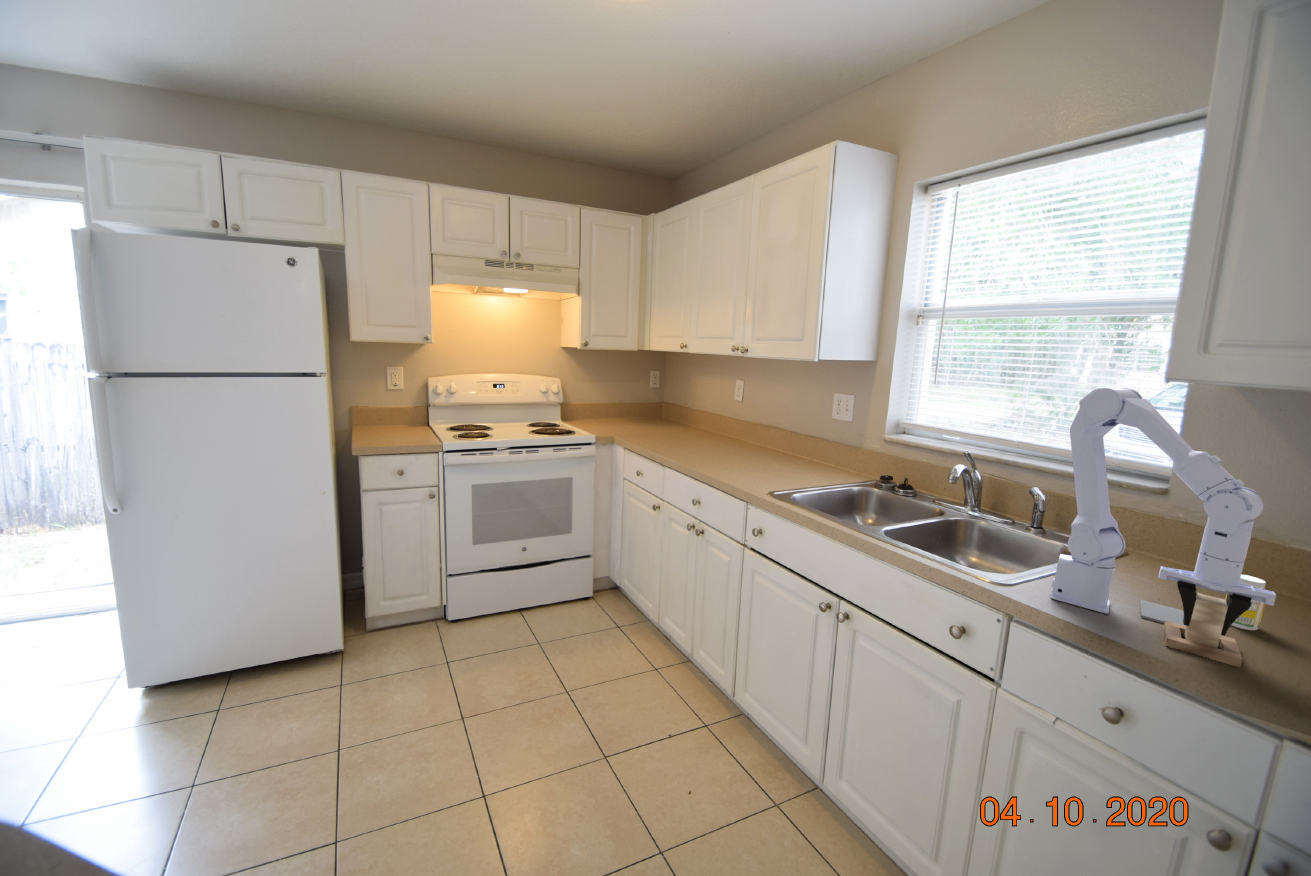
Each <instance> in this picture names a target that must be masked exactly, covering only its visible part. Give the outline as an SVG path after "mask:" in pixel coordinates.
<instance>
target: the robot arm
mask: <svg viewBox="0 0 1311 876" xmlns="http://www.w3.org/2000/svg"><path fill="white" fill-rule="evenodd" d="M1078 403H1079V409H1078V411H1077V413H1076V415H1075V417H1074V418H1073V421H1072V423H1071V425H1070V428H1069V435H1070V447H1071V458H1072V467H1073V478H1074V479H1073V480H1074V488H1075V489H1074V491H1075V498H1076V508H1077V509H1076V510H1077V515H1076V516H1075V518H1074V520H1073V521H1072V522H1071V524H1070V525H1071V526H1070V529H1071V530H1070V531H1071V532H1070V536H1069V537H1068V541H1067V548H1068V551H1069V553H1070V554H1064V553H1061V554H1059V557H1058V562H1057V565H1056V571H1055V575H1054V578H1052V582H1051V587H1052V590H1051V596H1050V599H1052V600H1056V601H1058V602H1059V601H1060V602H1062V603H1066V604H1071V605H1074V606H1078V607H1080V608H1084V609H1089V610H1092V611H1095V612H1099V613H1102V614H1107V615H1108V614H1109V612H1110V603H1111V600H1110V598H1109V597H1110V594H1111V592H1110V591H1111V588H1112V583H1113V579H1114V578H1113V577H1114V574H1115V569H1116V564H1117V563H1116V557H1119V556H1121V555H1122V554H1123V553H1124V551H1125V549H1126V540H1125V538H1124V536H1123V534H1122V533H1121V532H1120V529H1119V524H1118V521H1117V520H1116V518H1114V516H1113V515H1112V513H1111V512H1112V511H1111V504H1110V495H1109V493H1110V492H1109V483H1108V475H1107V474H1108V473H1107V465H1106V463H1107V462H1106V461H1107V460H1106V453H1105V444H1104V443H1105V442H1104V437H1105V436H1106V435H1107V434H1108V433H1109V432H1111V430H1112V429H1115V428H1116V427H1117V426H1118V425H1122V426H1127V427H1132V428H1135V429H1138V430H1139V431H1141V433H1142V434H1144V435H1145V436H1146V438H1148V439H1149V440H1150V441H1151V442H1152V443H1154V444H1155V445H1156V446H1157V447H1158V448H1159V449H1160V450H1161V451H1162V452H1163V453H1165V454H1166V456H1168V457H1169V458H1170V459H1171V460H1172V461H1173V464H1172V472H1173V473H1174V474H1175V475H1176V477H1178V478H1179V479H1180V480H1181V481H1182V482H1183V483H1184V484H1185V485H1186V486H1187V487H1188V489H1190V490H1191V491H1192V492H1193V493H1194V494H1195V496H1197V497H1198V499H1199V500H1201V501H1203V508H1204V511H1205V514H1206V515H1207V520H1206V524H1205V527H1204V530H1203V534H1202V538H1201V542H1200V547H1199V551H1198V554H1197V559H1196V562H1195V563H1196V564H1195V566H1194V571H1191V570H1186V569H1178V568H1172V567H1167V566H1162V565H1161V566H1160V569H1159V572H1158V579H1159V580H1163V581H1167V580H1168V581H1171V582H1176V585H1177V590H1178V593H1179V595H1180V598H1181V602H1182V608H1183V609H1182V610H1183V612H1184V617H1183V624H1184V625H1186V626H1189V624H1190V620H1191V613H1192V608H1193V604H1194V601H1195V598H1196V595H1197V594H1196V593H1197V588H1201V589H1205V590H1210V591H1213V592H1218V593H1223V594H1227V598H1226V597H1225V598H1226V603H1227V606H1228V609H1227V613H1226V616H1225V620H1224V624H1223V628H1222V632H1221V635H1222V636H1225V637H1226V634H1227V632H1228V630H1229V629H1230V628H1231V627H1232V626H1231V625H1232V623H1233V622H1234V621H1235V620H1236V619H1237V618H1238V617H1239V616H1240V615H1241V614H1243V613H1244V612H1245V611H1247V610H1248V609H1249V608H1250V607H1251V604H1252V603H1251V600H1255V601H1260V602H1264V604H1265V605H1268V606H1274V605H1275V601H1276V598H1277V594H1276V593H1275V591H1272V590H1268V589H1266V588H1264V589H1261V588H1257V587H1254V586H1250V585H1247V584H1243V583H1240V578H1241V574H1242V573H1243V570H1244V566H1245V561H1246V558H1247V555H1248V549H1249V546H1250V542H1251V539H1252V531H1253V527H1254V524H1255V521H1254V519H1256V518H1257V517H1259V516H1260V515H1261V514H1262V513H1263V511H1264V501H1263V499H1262V497H1261V496H1260V495H1259V493H1258V491H1256V490H1255V489H1253V488H1249V487H1246V486H1245V483H1244V482H1243V480H1241V479H1236V478H1235V477H1234V476H1233V475H1232V474H1230V473H1229V471H1227V470H1226V468H1224V467H1223V466H1222V465H1221V462H1223V461H1222V459H1221V458H1220V457H1219V456H1218V455H1211V454H1210V453H1209V452H1207V451H1200V450H1194V449H1193V448H1192V447H1191V446H1190V445H1189V443H1187V442H1186V440H1185V439H1184V438H1183V437H1182V436H1181V435H1180V434H1179V433H1178V432H1177V431H1176V430H1175V429H1174V427H1173V426H1172V425H1171V424H1170V423H1169V422H1168V421H1167V420H1166V419H1165V418H1164V417H1163V416H1162V415H1161V414H1160V413H1159V411H1158V410H1157V409H1156V408H1155V407H1154V405H1153V404H1152V403H1151V402H1150V401H1149V400H1147V399H1146V398H1143V396H1142V395H1141V394H1140V393H1139V391H1136V389H1133V388H1127V387H1123V388H1110V387H1098V388H1094V389H1093V390H1091V391H1090V392H1089V393H1087V394H1086V395H1085V396H1084V397H1083V398H1081V399H1080V400H1079V402H1078ZM1242 575H1243V574H1242Z"/></svg>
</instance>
